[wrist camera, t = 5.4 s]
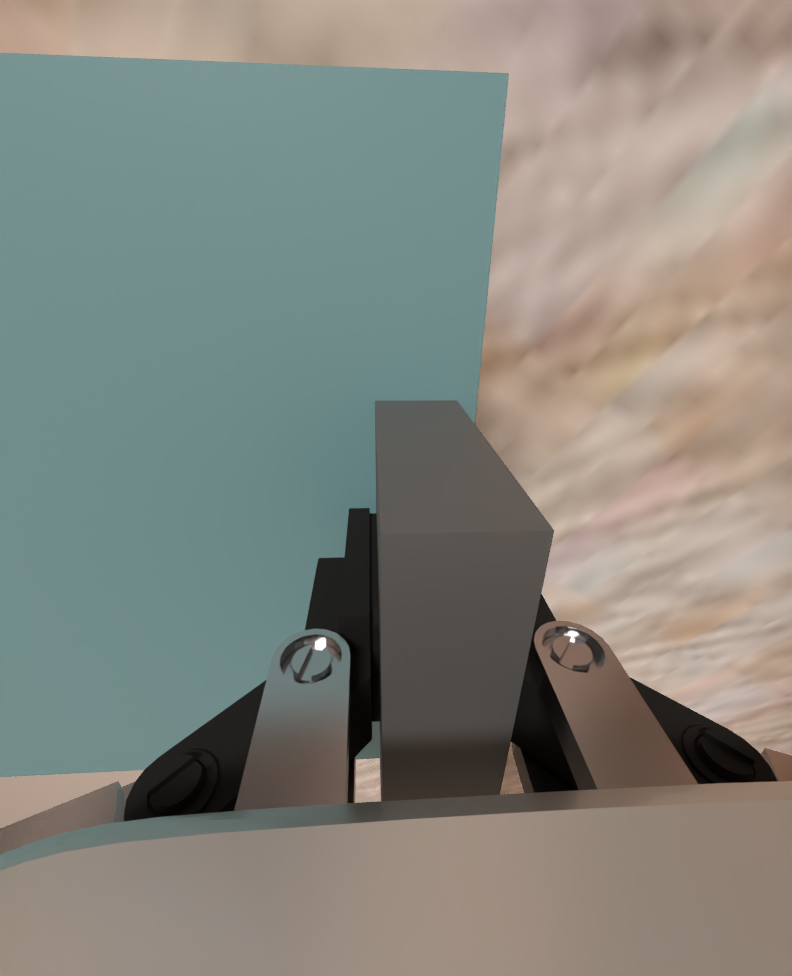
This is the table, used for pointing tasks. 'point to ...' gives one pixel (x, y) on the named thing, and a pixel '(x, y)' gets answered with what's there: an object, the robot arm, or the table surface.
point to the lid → (250, 404)
